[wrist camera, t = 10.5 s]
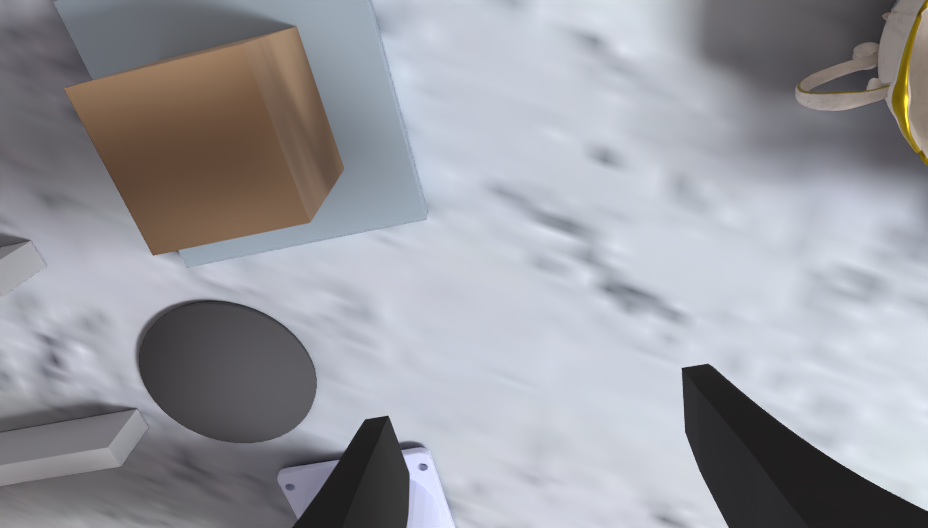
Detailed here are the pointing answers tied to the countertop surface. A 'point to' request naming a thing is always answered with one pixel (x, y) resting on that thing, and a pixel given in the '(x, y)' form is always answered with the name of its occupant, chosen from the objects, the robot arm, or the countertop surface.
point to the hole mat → (228, 372)
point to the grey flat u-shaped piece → (61, 442)
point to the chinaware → (886, 74)
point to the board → (337, 78)
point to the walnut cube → (214, 141)
